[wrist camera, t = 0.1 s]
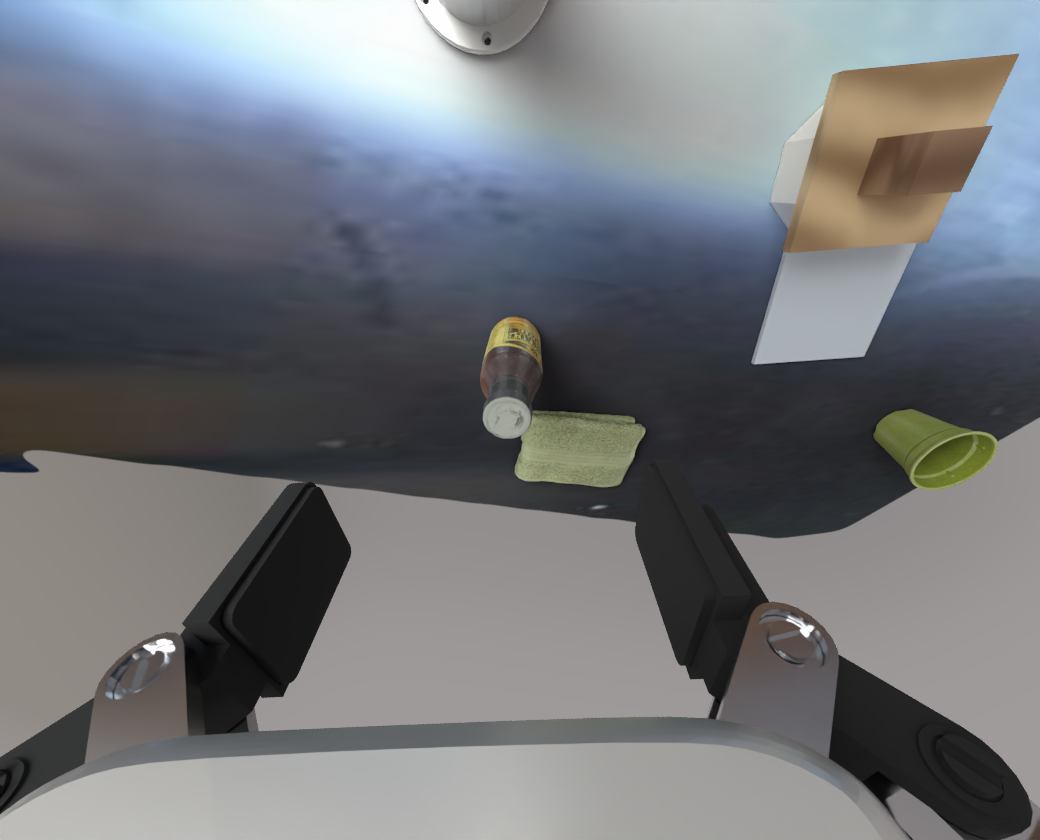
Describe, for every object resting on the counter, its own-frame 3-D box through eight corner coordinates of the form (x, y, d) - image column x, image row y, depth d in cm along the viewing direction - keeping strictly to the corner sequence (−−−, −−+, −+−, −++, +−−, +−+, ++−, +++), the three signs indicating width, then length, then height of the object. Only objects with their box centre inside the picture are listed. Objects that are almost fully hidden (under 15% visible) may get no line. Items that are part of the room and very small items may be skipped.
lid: (832, 74, 29) (901, 51, 24) (1001, 58, 29) (1109, 30, 24) (781, 251, 36) (826, 262, 31) (916, 240, 36) (985, 249, 31)
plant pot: (845, 434, 55) (896, 473, 47) (909, 386, 50) (975, 421, 43) (882, 459, 57) (935, 499, 50) (944, 415, 53) (1013, 452, 46)
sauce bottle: (549, 338, 46) (568, 425, 29) (513, 369, 48) (512, 466, 32) (514, 300, 44) (512, 371, 27) (477, 334, 46) (455, 420, 29)
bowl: (796, 95, 34) (836, 82, 29) (931, 82, 33) (991, 67, 29) (760, 239, 40) (788, 245, 36) (872, 229, 40) (914, 235, 36)
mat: (785, 246, 41) (788, 247, 40) (914, 236, 40) (920, 236, 40) (751, 362, 48) (753, 364, 48) (860, 354, 48) (863, 356, 47)
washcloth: (619, 481, 60) (624, 495, 57) (513, 471, 59) (513, 485, 56) (644, 414, 53) (651, 427, 50) (524, 401, 52) (525, 413, 49)
